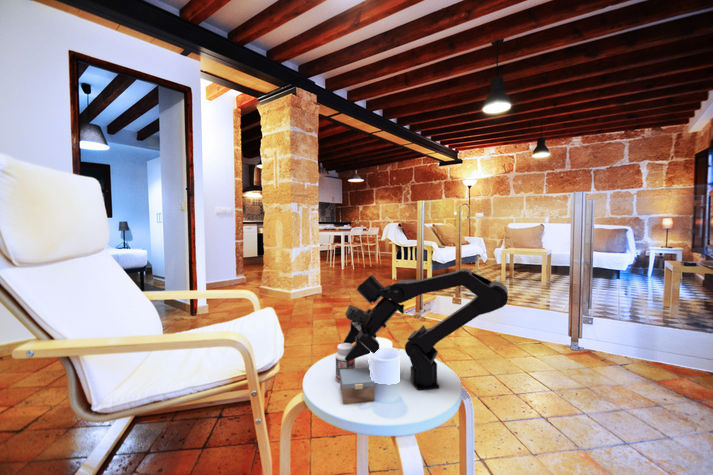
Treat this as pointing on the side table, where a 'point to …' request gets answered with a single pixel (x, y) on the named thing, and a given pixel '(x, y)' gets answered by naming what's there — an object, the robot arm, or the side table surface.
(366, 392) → the walnut box
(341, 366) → the pill bottle
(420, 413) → the side table surface
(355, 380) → the box lid
